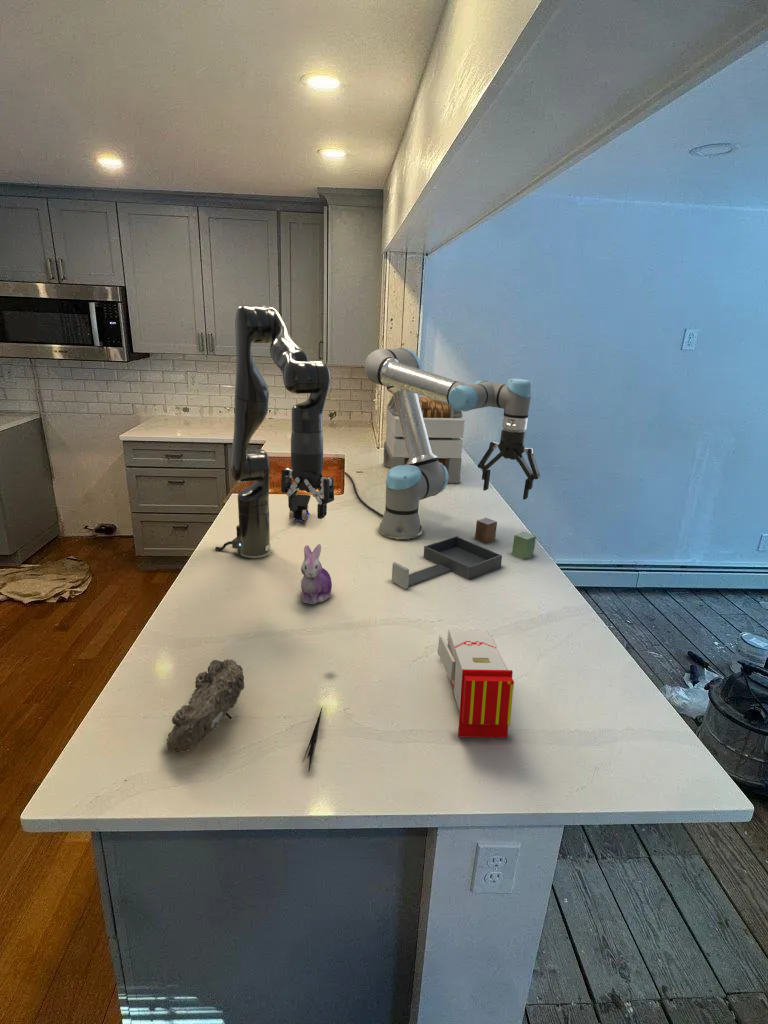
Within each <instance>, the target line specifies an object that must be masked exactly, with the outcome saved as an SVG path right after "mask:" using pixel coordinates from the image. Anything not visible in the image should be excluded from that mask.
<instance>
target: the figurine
mask: <svg viewBox="0 0 768 1024" xmlns="http://www.w3.org/2000/svg"><path fill="white" fill-rule="evenodd" d="M321 551H322V544H320V543H319V544H317V545H316V546H315V548H314V549H313V551H312V550H311V547H310V546H309V545H308V544H306V545H305V546H304V547H303V555H304V560H303V561H302V564H301V567H300V572H301V574H302V575H303V576H302V578H301V580H300V589H301V602H302V603H304V604H308V605H315V604H317V603H323V602H325V601H327V600H328V599H330V597H331V595H332V588H333V584H332V582H333V581H332V577H331V575H330V573H329V572H328V570H327V569H325V568H324V567H323V565H322V563H321V561H320V555H321Z"/></svg>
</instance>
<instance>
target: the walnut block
mask: <svg viewBox="0 0 768 1024" xmlns="http://www.w3.org/2000/svg"><path fill="white" fill-rule="evenodd" d="M497 528H498V521H496V520H493V519H491V518H488V517H483V518H480V519H476V524H475V533H474V540H476V541H479V542H481V543H483V544H489V543H491V542H494V541H496V536H497Z"/></svg>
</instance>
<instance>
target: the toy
mask: <svg viewBox="0 0 768 1024" xmlns="http://www.w3.org/2000/svg"><path fill="white" fill-rule="evenodd" d="M446 640H447V643H446V641H445V639H444V636H443V635H442V634H439V637H438V646H437V656H438V657H439V659H440V661H441V663H442V666H443V668H444V670H445V672H446V674H447V677H448V679H449V681H450V684H451V687H452V690H453V693H454V697H455V701H456V705H457V708H458V711H459V714H458V715H459V716H458V730H457V731H458V732H457V737H458V738H508V731H509V726H510V725H511V717H512V707H513V697H514V696H513V695H514V684H515V680H514V679H513V673H514V671H513V670H512V669H508V667H507V665H506V662H505V661H504V659H503V658H502V655H501V653H500V651H499V649H498V647H497V643H496V639H495V637H494V635H493V634H491V632H490V631H489V629H467V628H466V629H465V628H463V629H461V628H460V629H459V628H448V630H447V639H446Z"/></svg>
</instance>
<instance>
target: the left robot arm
mask: <svg viewBox="0 0 768 1024" xmlns="http://www.w3.org/2000/svg"><path fill="white" fill-rule="evenodd" d="M234 322H235V323H234V324H235V325H234V330H235V331H234V332H235V333H234V334H235V355H236V356H235V359H236V361H235V363H236V364H235V366H236V368H235V369H236V370H235V384H234V406H233V408H234V411H233V412H234V419H233V421H234V422H233V436H232V437H233V438H232V446H231V455H230V473H231V477H232V479H233V480H234V481H235V482H237V483H246V482H252V483H251V484H250V485H248V487H246V488H244V489H241V490H240V491H239V492H238V494H237V511H238V513H237V514H238V524H237V525H236V526H235V527H236V529H235V530H236V537H235V538H233V539H232V540H230V541H227V542H224V543H223V545H222V546H221V547H220V546H215V550H216V551H223V550H225V548H226V547H227V546H229V545H231V547H232V549H236V550H237V555H239V556H241V557H243V558H246V559H251V560H253V559H255V560H256V559H262V558H265V557H268V556H269V555H270V554H271V547H272V546H271V545H272V544H271V534H270V533H271V532H270V531H271V529H270V498H269V497H270V475H271V474H270V473H271V471H270V470H271V469H270V468H271V466H270V458H269V454H268V452H267V451H266V450H265V449H263V448H262V449H261V448H260V449H259V448H258V449H249V450H248V447H249V444H250V441H251V439H252V437H253V436H254V434H255V433H256V432H257V430H259V427H260V426H261V425H262V424H263V422H264V421H265V419H266V417H267V415H268V412H269V401H270V400H269V398H270V390H269V386H268V384H267V382H266V380H265V378H264V377H263V375H262V374H261V372H260V370H259V369H258V367H257V366H256V363H255V361H254V358H253V355H252V344H269V343H270V347H269V354H270V358H271V360H272V361H273V363H274V365H275V366H276V367H277V368H278V369H279V370H280V372H281V376H282V381H283V386H284V388H285V389H286V390H287V391H288V392H289V393H292V394H296V395H300V394H309V396H308V398H307V399H306V400H305V401H302V402H298V403H297V404H295V405H293V406H292V407H291V433H290V434H291V435H290V467H286V468H283V469H282V470H281V476H280V477H281V480H280V481H281V482H280V491H281V493H282V494H284V493H285V494H286V496H287V498H288V500H287V501H288V503H287V504H288V509H289V512H290V511H292V512H293V511H296V510H297V508H298V504H297V495H296V494H298V492H299V491H305V492H307V493H310V495H311V496H312V497H313V498H315V500H316V502H317V510H316V511H317V515H316V516H317V519H320V520H322V519H324V518H325V517H326V516H327V513H328V504H329V503H332V502H334V501H335V484H334V483H335V481H334V477H333V476H329V477H328V476H324V475H323V473H322V472H323V468H324V434H323V413H324V409H325V404H326V399H327V396H328V393H329V389H330V385H331V382H332V381H331V380H332V379H331V378H332V377H331V376H332V375H331V372H330V371H331V370H330V368H329V366H328V365H327V364H326V363H325V362H323V361H320V360H309V357H308V355H307V353H306V352H305V351H304V349H302V348H301V346H300V345H298V343H297V342H296V341H295V340H294V339H293V337H292V335H291V333H290V331H289V329H288V328H287V325H286V323H285V322H284V320H283V318H282V316H281V314H280V313H279V312H278V310H277V309H276V308H274V307H272V306H267V305H252V304H251V305H248V304H247V305H245V304H243V305H240V306H239V307H237V310H236V312H235V320H234ZM292 479H293V482H292Z"/></svg>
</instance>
